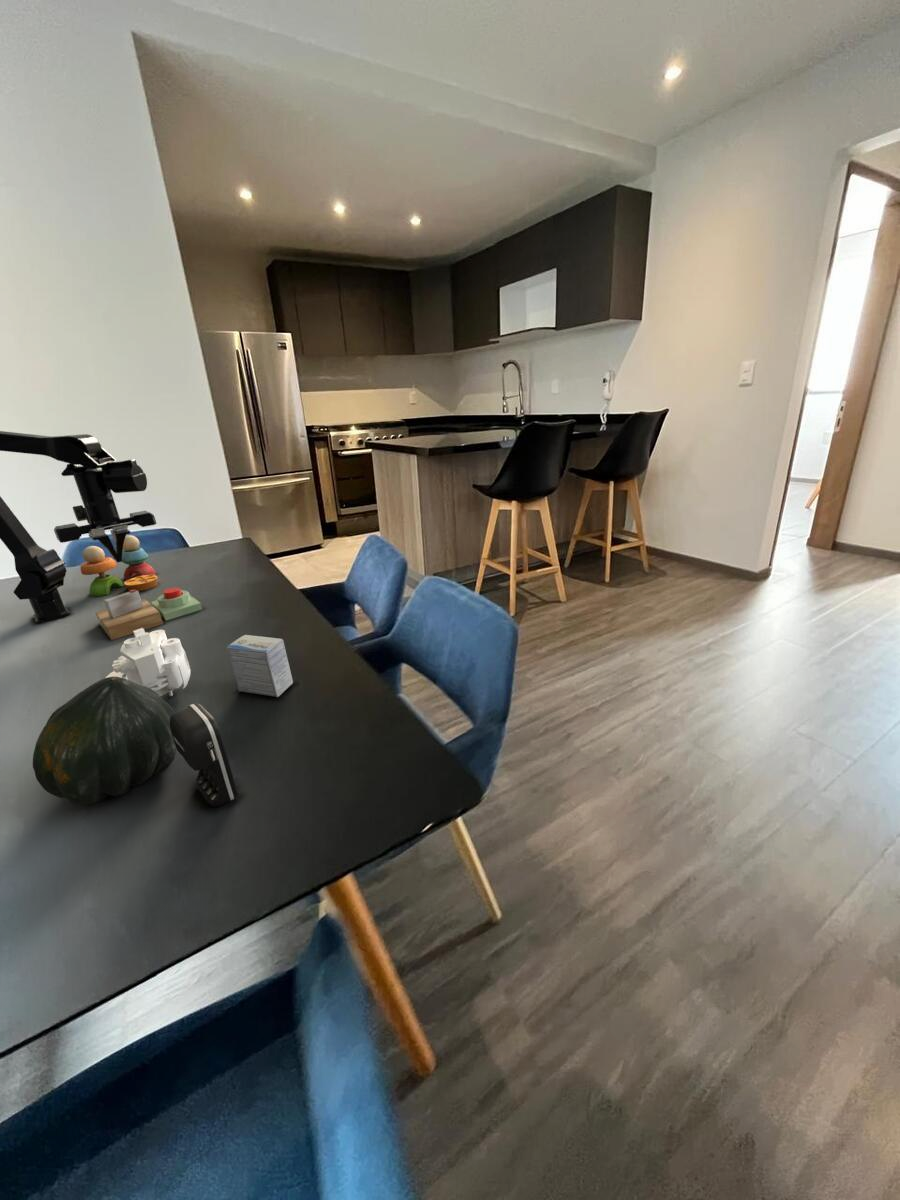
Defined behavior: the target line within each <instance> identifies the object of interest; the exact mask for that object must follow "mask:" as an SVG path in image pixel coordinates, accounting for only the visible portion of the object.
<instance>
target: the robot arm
mask: <svg viewBox="0 0 900 1200" xmlns="http://www.w3.org/2000/svg"><path fill="white" fill-rule="evenodd" d="M0 452H9V453H18V454H19V453H20V454H28V455H36V456H37V455H38V456H45V457H48V458H49V457H50V458H52V459H54V460H56V461H59V462H61V463H66V466H65V468H64V469H63V471H62V472H61V473H60V474H61V476H62V477H70V476H73V478H74V481H75V485H76V487H77V490H78V492H79V496H80V499H81V502H82V504H83V505H82V504H81V505H80V504H79V505H74V506H72V511H73V513H74V517H75V519H76V521H77V522H83V521H86V522H87V523H88V524H85V525H83V524H82V525H79V526H78V525H77V524H76V523H74V522H73V523H68V524H61V525H56V526H55V527H54V529H53V533H54V534H55V538H56V539H57V541H58V542H59V543H60V544H61V543H68V542H74V541H79V540H80V538H81V537H82V535H88V537H89V538H90V539H91V540H92V541H99V543H100V544H102V545H103V547H104V548H105V549H106V550H107V551H108V552H109V554H110V555H111V557H112V559H113V560H114V561H115V562H116V563H122V562H121V561H122V552H123V544H124V541H125V537H126V536H127V535H130V534H131V531H130V529H128V528H129V527H130V526H133V525H138V526H139V527H141V528H145V527H151V526H155V525H157V521H156V517H155V515H154V514H153V513H151V512H150V511H147V510H140V511H135V512H130V513H129V517H128V516H127V517H123V518H121V517H120V514H119V512H118V509H117V506H116V505H117V504H116V502H115V498H114V496H113V493H115V494H122V493H124V494H125V493H136V492H137V493H138V492H145V490H147V488H148V479H147V475H146V473H145V472H144V470H143V468H142V467H141V466H140V465H139V464H137V460H136V459H135V458H133V459H127V460H117V459H116V458H115V457H114V456H113V455H112V454H110V453H109V452H108V451H107V450H106V449H105V448H103V447H102V445H101V443H100V442H99V440H97V438H96V437H95V436H94V435H91V434H87V433H85V434H84V433H83V434H81V433H80V434H69V435H67V434H65V435H53V436H52V435H51V436H50V435H42V434H41V435H40V434H32V433H23V432H15V431H4V430H0ZM112 492H113V493H112ZM107 530H108V531H109V530H110V534H111V537H112V541H113V543H112V541H111V538H110V536H109V535H108V534H107V533H106V531H107ZM0 540H1V542H2V543H3V544H4V545H5V547H6V549H8V550H9V552H10V553H11V554H12V556H13V557H14V558H13V559H14V567H15V571H16V573H17V575H18V577H19V578H20V581H19V582H18V584H17V586H15V588H14V590H13V594H14V595H15V596H16V597H17V598H18V599H19V600H20V601H21V600H28V601H29V603H30V606H31V608H32V611H33V613H34V614H33V615H32V616H33V618H34V620H35V623H36V624H40V623H41V624H42V623H45V622H49V621H52V620H55V619H59V618H63V617H67V616H70V615H71V612H70V610H69V609H68V607H67V606H65V604H64V601H63V599H62V597H61V594H60V592H59V589H58V588H60V587H63V586H64V585H65V577H66V573H67V572H68V571H67V567H66V566H65V564H66V562H65V561H64V560H63V559H62V558H61V557H60V556H59V554H58V553H57V551H56V549H54V548H51V549H49V550H47V549H45V548H43V547H41V546H40V545H38V544H37V542H36V541H35V540H34V539H33V537H32V536H31V534H30V533H29V532H28V530H27V529H26V528H25V526H24V525H23V524H22V522H20V520H19V519H18V517H17V516H16V515H15V514H14V512H13V511H12V510H11V508H10V506H8V504H7V503H6V502H5V501H4V499H3V498H2V496H0Z"/></svg>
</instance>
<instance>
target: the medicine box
mask: <svg viewBox="0 0 900 1200" xmlns="http://www.w3.org/2000/svg"><path fill="white" fill-rule="evenodd" d="M226 649H227V653H228V657H229V660H230V664H231V667H232V671H233V675H234V678H235V683H236V686H237V690H238V692H241V693H242V692H243V693H249V694H256V695H263V696H269V697H274V698H275V697H276V698H279V697H280V696H281V695H283V693H284V692H285V691H286V690H287V689H288V688H290V687H291V686H292V685H293V684H294V680H293V676H292V672H291V668H290V664H289V659H288V655H287V651H286V646H285V642H284V640H283V638H277V637H276V638H275V637H268V636H259V635H249V634H244V635H242V636H240V637H239V638H237V639H236V640H234V641H233V642H231V643H230V644H229V645H227V647H226Z"/></svg>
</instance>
